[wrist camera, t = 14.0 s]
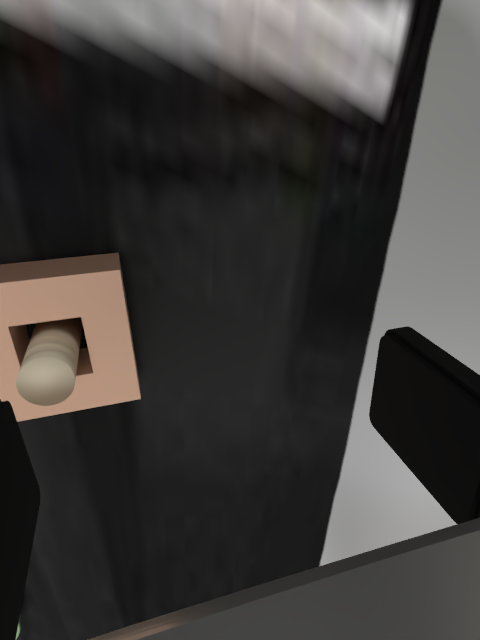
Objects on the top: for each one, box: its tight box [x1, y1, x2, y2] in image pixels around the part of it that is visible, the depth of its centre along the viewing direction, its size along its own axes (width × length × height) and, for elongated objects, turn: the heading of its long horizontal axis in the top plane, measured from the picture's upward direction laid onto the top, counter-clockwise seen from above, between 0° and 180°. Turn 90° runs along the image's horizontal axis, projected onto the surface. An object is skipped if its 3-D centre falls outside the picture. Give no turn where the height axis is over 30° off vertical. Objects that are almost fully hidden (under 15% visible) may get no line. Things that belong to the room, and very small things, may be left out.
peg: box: [16, 317, 82, 406], centre depth 35 cm, size 4×4×10 cm
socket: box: [0, 253, 141, 422], centre depth 37 cm, size 13×13×5 cm
